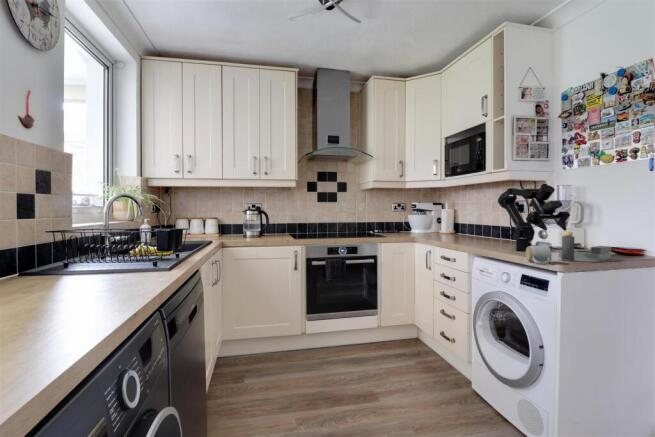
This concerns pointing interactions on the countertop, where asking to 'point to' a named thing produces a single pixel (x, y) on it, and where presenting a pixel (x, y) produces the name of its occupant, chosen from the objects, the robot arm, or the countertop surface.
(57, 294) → the countertop surface
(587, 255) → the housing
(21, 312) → the countertop surface
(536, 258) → the ceramic mug
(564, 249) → the plug
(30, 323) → the countertop surface
